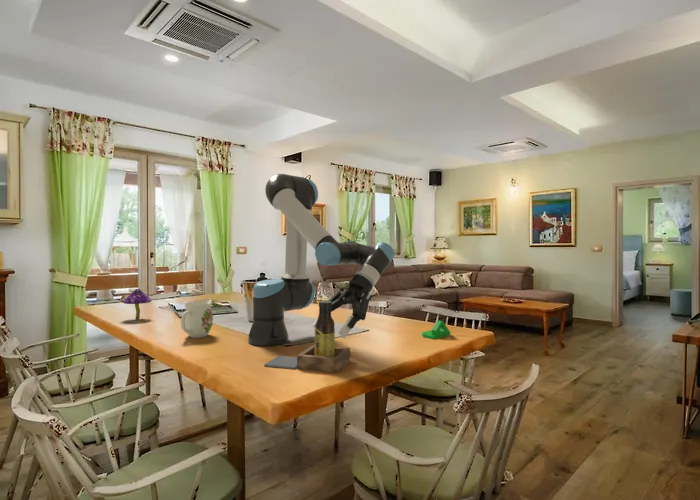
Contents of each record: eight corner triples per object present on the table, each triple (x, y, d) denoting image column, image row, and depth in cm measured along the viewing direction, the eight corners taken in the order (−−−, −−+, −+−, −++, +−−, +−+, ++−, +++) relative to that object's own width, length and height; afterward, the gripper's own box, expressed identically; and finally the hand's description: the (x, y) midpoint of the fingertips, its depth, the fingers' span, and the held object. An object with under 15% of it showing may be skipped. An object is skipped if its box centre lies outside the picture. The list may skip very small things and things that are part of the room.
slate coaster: (264, 366, 123) (264, 364, 123) (278, 357, 133) (278, 355, 133) (294, 369, 121) (294, 367, 121) (306, 359, 130) (306, 358, 130)
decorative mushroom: (118, 319, 195) (118, 288, 194) (145, 316, 204) (145, 286, 204) (129, 323, 187) (129, 290, 186) (156, 319, 196) (156, 288, 196)
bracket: (435, 332, 174) (435, 316, 174) (450, 335, 168) (450, 319, 168) (417, 336, 166) (417, 320, 166) (432, 340, 160) (432, 323, 160)
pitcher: (169, 340, 154) (169, 304, 154) (199, 330, 172) (199, 298, 172) (194, 342, 152) (194, 306, 151) (221, 332, 169) (221, 299, 169)
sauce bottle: (314, 361, 129) (314, 299, 128) (333, 361, 129) (334, 299, 129) (314, 367, 122) (314, 302, 122) (334, 367, 123) (335, 302, 122)
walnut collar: (297, 368, 121) (297, 355, 121) (312, 357, 134) (312, 345, 134) (338, 372, 118) (338, 359, 118) (349, 360, 130) (349, 348, 130)
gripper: (396, 291, 127) (360, 346, 117) (346, 285, 146) (312, 332, 137) (384, 275, 123) (346, 331, 114) (335, 271, 142) (298, 318, 133)
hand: (327, 331), depth 125 cm, fingers open, 13 cm apart
